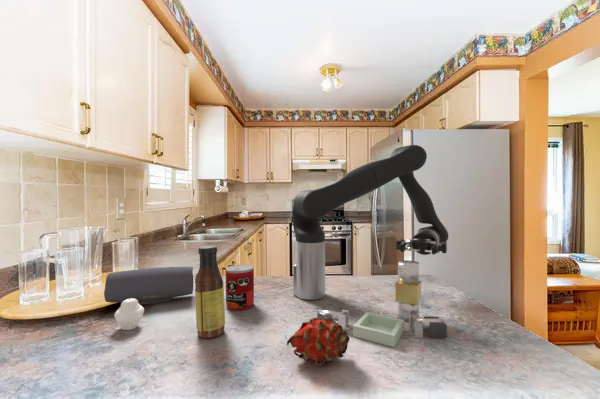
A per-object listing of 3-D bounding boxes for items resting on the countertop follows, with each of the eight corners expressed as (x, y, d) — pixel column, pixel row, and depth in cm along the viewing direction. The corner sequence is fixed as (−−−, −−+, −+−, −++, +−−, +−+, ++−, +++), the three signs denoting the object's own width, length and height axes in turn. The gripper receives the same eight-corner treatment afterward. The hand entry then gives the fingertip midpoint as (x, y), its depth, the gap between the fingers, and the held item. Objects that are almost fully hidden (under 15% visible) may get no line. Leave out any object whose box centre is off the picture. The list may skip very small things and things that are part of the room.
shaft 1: (349, 324, 71) (349, 310, 71) (344, 331, 67) (344, 317, 67) (321, 319, 73) (321, 306, 73) (315, 326, 69) (315, 312, 69)
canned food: (220, 308, 81) (220, 269, 81) (236, 299, 88) (236, 263, 88) (243, 312, 78) (243, 272, 78) (258, 302, 85) (258, 265, 85)
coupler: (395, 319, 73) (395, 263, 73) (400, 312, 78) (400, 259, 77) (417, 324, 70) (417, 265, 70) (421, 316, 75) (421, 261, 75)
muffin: (140, 319, 74) (139, 292, 74) (147, 327, 69) (147, 298, 69) (111, 327, 69) (111, 298, 69) (118, 336, 65) (117, 305, 65)
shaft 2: (415, 338, 63) (415, 322, 63) (408, 329, 68) (408, 314, 68) (448, 338, 63) (448, 323, 63) (439, 329, 68) (439, 314, 68)
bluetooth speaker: (193, 292, 95) (193, 262, 95) (192, 302, 86) (192, 268, 86) (113, 300, 88) (113, 267, 88) (103, 312, 79) (103, 275, 79)
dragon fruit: (355, 371, 54) (292, 379, 55) (347, 328, 61) (291, 335, 62) (353, 349, 49) (283, 358, 50) (344, 305, 56) (283, 313, 57)
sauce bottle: (230, 329, 68) (229, 245, 68) (214, 341, 62) (213, 249, 62) (207, 325, 70) (206, 243, 70) (189, 337, 64) (188, 248, 64)
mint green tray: (353, 336, 64) (353, 325, 64) (366, 321, 72) (366, 311, 72) (394, 347, 60) (394, 335, 60) (404, 330, 67) (404, 319, 67)
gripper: (403, 229, 101) (391, 235, 87) (449, 231, 93) (444, 238, 79) (404, 250, 101) (392, 260, 87) (449, 254, 93) (444, 265, 80)
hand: (417, 249), depth 83 cm, fingers open, 8 cm apart
